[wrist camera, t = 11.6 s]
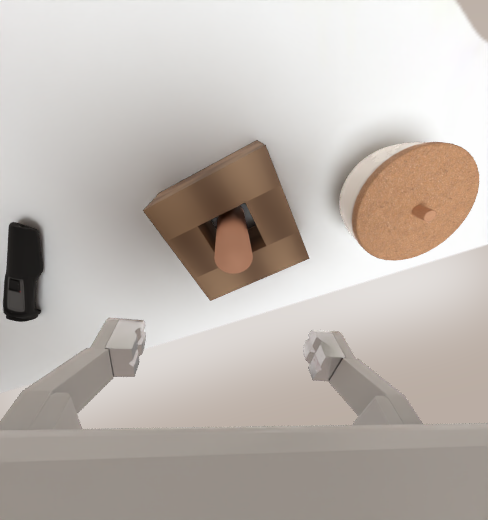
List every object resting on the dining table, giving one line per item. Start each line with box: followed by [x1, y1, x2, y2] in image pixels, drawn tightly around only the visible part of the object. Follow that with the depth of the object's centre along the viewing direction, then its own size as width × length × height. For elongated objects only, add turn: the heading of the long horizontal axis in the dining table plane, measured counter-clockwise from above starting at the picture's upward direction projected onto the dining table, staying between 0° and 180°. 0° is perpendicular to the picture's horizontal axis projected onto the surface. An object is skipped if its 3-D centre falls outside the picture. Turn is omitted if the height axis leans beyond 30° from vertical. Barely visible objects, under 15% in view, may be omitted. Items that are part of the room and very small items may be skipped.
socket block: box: [143, 140, 309, 301], centre depth 25 cm, size 12×12×6 cm
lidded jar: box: [339, 142, 479, 260], centre depth 23 cm, size 11×11×9 cm
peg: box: [214, 206, 253, 274], centre depth 24 cm, size 3×3×10 cm
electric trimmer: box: [3, 222, 43, 322], centre depth 29 cm, size 4×16×3 cm, turn 153°
